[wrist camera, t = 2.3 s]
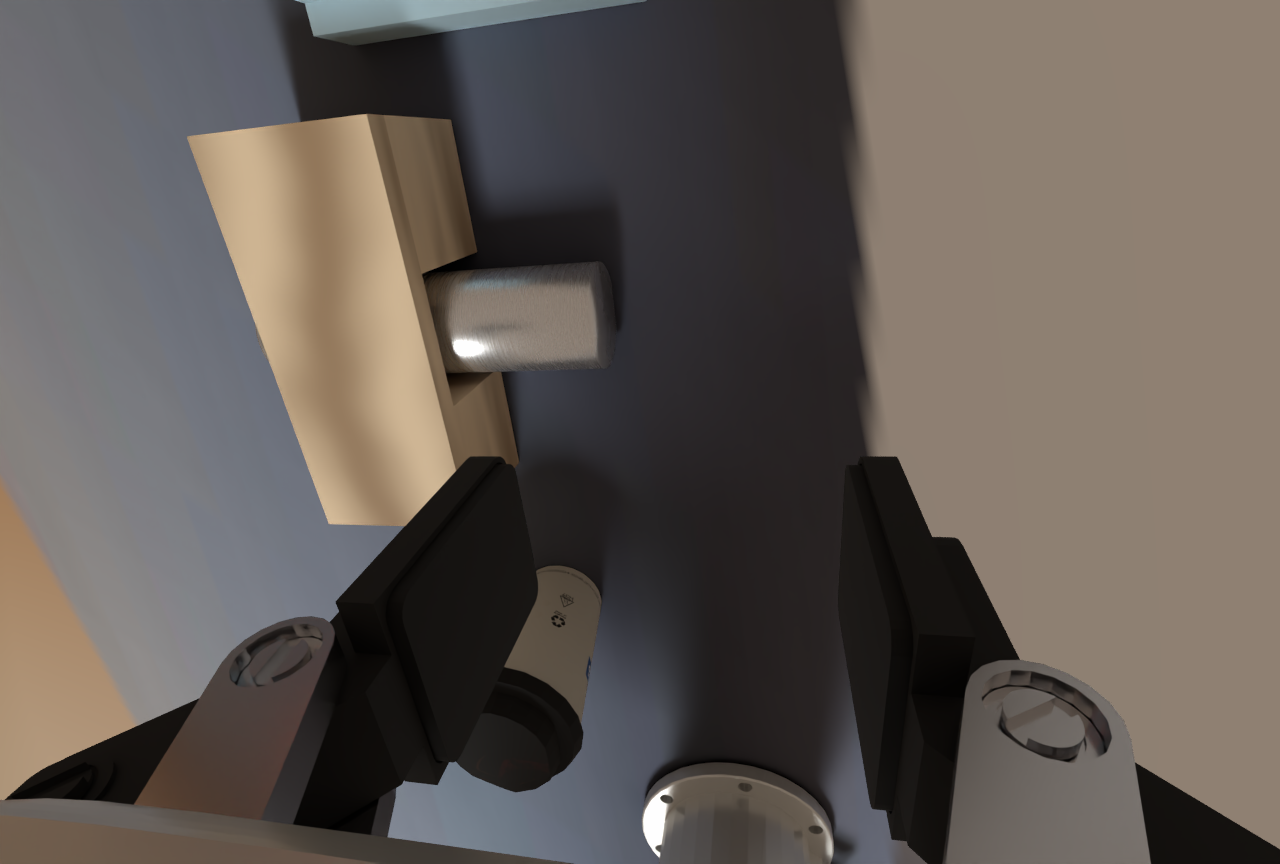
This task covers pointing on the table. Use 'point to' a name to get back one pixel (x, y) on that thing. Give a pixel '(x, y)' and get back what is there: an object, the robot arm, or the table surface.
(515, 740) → the coffee cup
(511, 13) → the v block
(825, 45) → the table surface
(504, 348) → the axle
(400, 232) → the beam
